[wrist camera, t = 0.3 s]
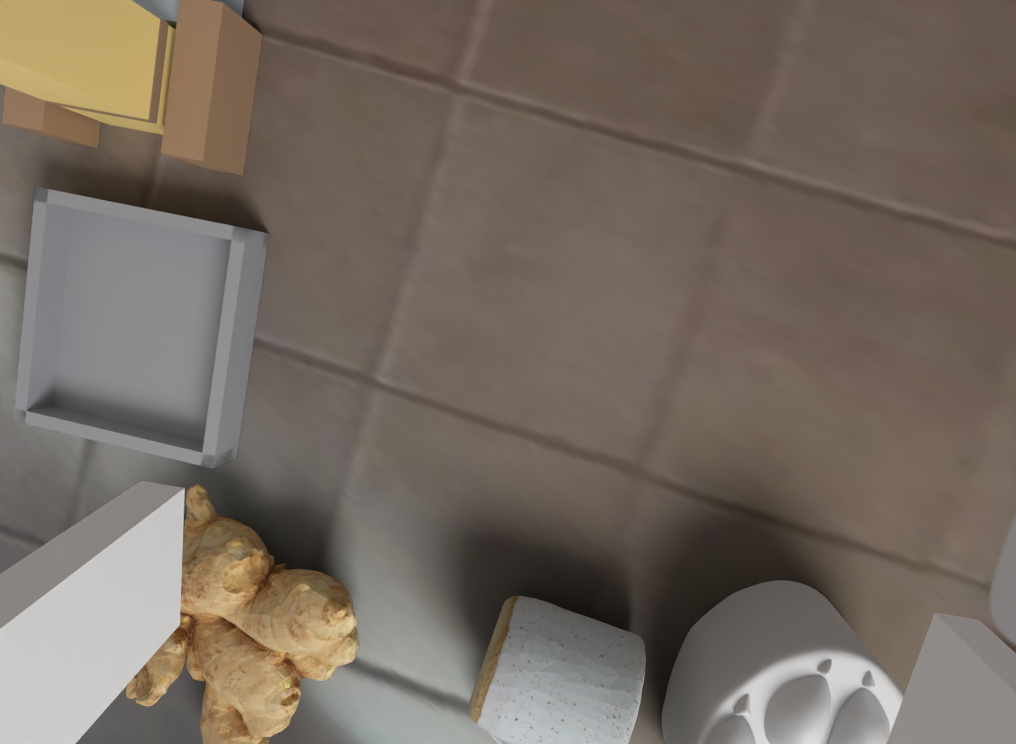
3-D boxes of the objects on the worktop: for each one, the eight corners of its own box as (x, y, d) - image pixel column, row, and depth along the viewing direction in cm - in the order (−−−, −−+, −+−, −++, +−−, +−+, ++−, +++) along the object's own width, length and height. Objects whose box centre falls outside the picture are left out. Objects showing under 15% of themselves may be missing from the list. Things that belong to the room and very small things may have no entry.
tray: (70, 193, 39) (35, 186, 36) (269, 233, 37) (246, 228, 35) (47, 413, 40) (13, 420, 38) (236, 458, 39) (213, 468, 37)
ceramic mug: (511, 566, 38) (492, 634, 30) (642, 611, 37) (656, 692, 30) (462, 717, 40) (433, 818, 32) (587, 763, 39) (587, 877, 31)
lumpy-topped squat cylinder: (644, 751, 38) (662, 880, 30) (711, 555, 36) (750, 632, 28) (815, 808, 37) (884, 958, 29) (891, 610, 36) (989, 708, 27)
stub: (117, 37, 37) (-226, -159, 21) (213, 53, 37) (-67, -135, 21) (107, 125, 38) (-232, -2, 22) (201, 143, 37) (-78, 25, 22)
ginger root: (259, 428, 38) (195, 495, 30) (432, 601, 41) (416, 700, 34) (87, 567, 41) (-9, 661, 33) (264, 716, 45) (215, 830, 37)
